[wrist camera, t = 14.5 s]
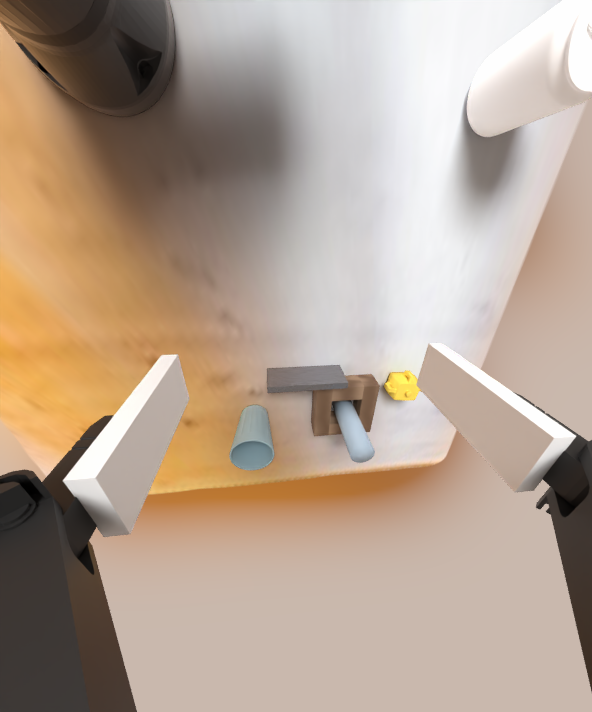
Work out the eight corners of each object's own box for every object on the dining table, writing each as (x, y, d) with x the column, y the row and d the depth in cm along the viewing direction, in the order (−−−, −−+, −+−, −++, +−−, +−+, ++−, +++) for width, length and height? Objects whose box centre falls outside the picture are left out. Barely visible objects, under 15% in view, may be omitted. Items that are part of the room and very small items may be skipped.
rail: (267, 373, 47) (267, 392, 41) (267, 368, 46) (267, 387, 41) (338, 370, 48) (347, 388, 43) (339, 364, 47) (348, 382, 42)
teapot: (421, 365, 50) (436, 380, 45) (411, 388, 53) (425, 404, 48) (384, 364, 49) (396, 378, 44) (376, 387, 51) (387, 403, 47)
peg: (330, 407, 53) (349, 463, 40) (331, 392, 51) (352, 446, 38) (348, 406, 53) (372, 461, 41) (350, 391, 51) (376, 444, 39)
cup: (227, 413, 50) (219, 455, 41) (256, 394, 49) (254, 433, 40) (252, 433, 54) (249, 476, 45) (279, 415, 52) (282, 456, 43)
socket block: (311, 422, 54) (314, 436, 51) (313, 377, 48) (317, 389, 45) (363, 418, 55) (369, 431, 52) (371, 374, 49) (379, 385, 46)
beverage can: (485, 154, 33) (584, 123, 23) (450, 105, 30) (546, 44, 20) (538, 87, 31) (680, 18, 20) (506, 27, 28) (651, -90, 17)
